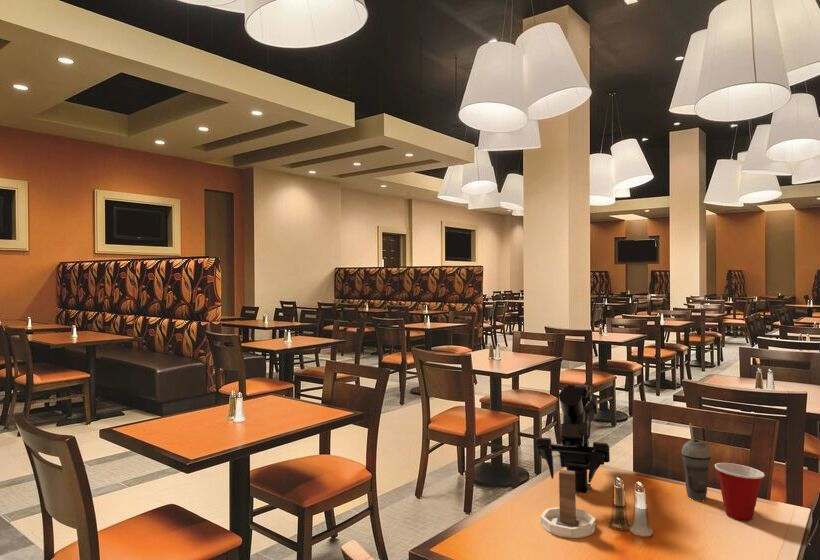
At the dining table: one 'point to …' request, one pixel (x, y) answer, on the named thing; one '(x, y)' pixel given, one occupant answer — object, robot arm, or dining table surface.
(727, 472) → the plastic cup
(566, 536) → the saucer
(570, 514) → the brown tall rectangular block
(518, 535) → the dining table surface
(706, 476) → the beverage cup
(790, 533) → the dining table surface
